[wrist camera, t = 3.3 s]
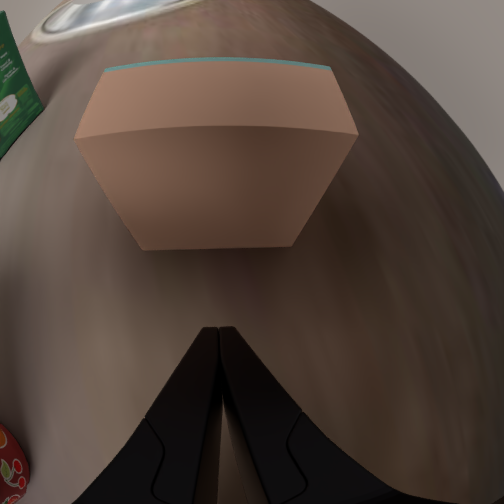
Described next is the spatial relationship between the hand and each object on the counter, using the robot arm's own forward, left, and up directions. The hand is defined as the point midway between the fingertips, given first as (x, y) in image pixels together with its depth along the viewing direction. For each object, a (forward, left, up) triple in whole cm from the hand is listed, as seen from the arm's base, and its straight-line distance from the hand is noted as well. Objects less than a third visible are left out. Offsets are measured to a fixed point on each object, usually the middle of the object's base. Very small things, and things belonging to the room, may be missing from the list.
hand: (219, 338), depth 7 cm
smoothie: (-15, +13, -8) cm, 21 cm away
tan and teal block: (+7, +3, -8) cm, 11 cm away
